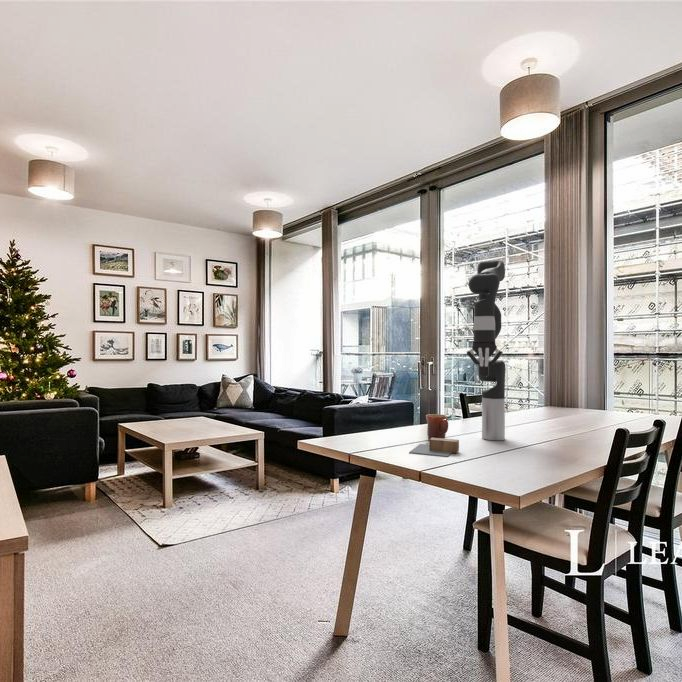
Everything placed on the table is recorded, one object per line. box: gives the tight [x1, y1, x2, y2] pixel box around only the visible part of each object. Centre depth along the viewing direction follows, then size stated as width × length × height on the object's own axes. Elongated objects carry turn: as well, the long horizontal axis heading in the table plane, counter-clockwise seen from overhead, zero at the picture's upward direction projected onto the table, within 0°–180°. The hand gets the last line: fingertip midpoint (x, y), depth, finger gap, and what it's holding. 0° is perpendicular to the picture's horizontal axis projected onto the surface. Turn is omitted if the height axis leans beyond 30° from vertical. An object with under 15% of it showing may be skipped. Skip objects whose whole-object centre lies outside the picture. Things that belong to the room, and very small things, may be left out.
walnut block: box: [428, 438, 460, 454], centre depth 172 cm, size 4×4×10 cm
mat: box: [408, 443, 453, 458], centre depth 173 cm, size 16×14×1 cm
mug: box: [425, 413, 449, 440], centre depth 191 cm, size 12×9×10 cm
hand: (484, 376), depth 169 cm, fingers closed
